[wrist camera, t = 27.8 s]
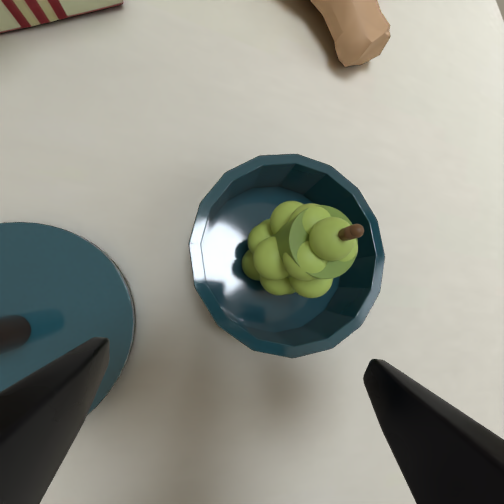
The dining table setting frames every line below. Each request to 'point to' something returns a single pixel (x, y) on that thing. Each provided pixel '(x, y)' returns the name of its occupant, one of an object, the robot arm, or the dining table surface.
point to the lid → (59, 302)
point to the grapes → (301, 249)
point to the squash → (355, 28)
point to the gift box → (45, 11)
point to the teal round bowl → (251, 291)
